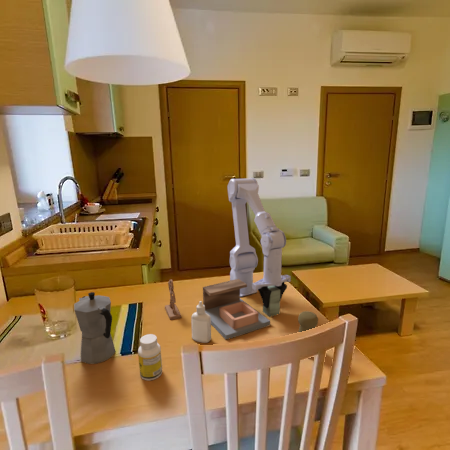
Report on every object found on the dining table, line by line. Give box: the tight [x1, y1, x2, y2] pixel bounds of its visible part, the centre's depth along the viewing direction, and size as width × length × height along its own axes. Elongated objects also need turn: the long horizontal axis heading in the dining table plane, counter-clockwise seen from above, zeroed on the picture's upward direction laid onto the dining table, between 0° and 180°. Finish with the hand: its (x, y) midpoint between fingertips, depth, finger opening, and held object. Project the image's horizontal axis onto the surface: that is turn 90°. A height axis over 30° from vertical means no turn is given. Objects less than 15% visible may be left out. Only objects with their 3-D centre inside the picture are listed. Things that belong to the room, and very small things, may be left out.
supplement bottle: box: [137, 333, 163, 381], centre depth 75 cm, size 5×5×10 cm
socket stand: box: [205, 298, 271, 340], centre depth 101 cm, size 18×16×4 cm
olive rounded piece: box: [297, 310, 319, 332], centre depth 84 cm, size 6×6×11 cm
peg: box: [262, 286, 281, 318], centre depth 104 cm, size 4×4×9 cm
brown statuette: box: [164, 279, 182, 321], centre depth 104 cm, size 9×4×12 cm, turn 22°
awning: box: [202, 279, 247, 310], centre depth 105 cm, size 6×14×8 cm, turn 119°
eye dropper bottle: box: [190, 300, 212, 344], centre depth 89 cm, size 4×6×12 cm
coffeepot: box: [73, 291, 116, 365], centre depth 82 cm, size 15×9×18 cm, turn 49°
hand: (271, 305), depth 104 cm, fingers closed on peg, 4 cm apart
